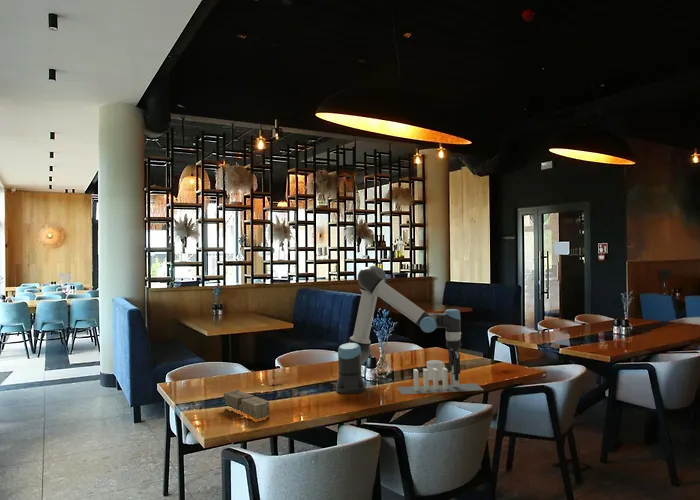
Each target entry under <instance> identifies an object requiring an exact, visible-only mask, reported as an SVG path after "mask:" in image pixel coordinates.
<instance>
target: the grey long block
mask: <svg viewBox="0 0 700 500" xmlns="http://www.w3.org/2000/svg"><path fill="white" fill-rule="evenodd" d="M223 399H224V400H225V401H224V402H225V403H224V404H225V405H227V406H229V407H232V408H234V409H236V410H240V411H241V412H243V413H245V414H247V415H249V416H250V415H251V417H253V418H255V419H259V418H263V417H266V416H267V415H270V401H269V400H266V399H263V398H260V397H258V396H254V395H253V394H249V393H247V392H244V391H241V390H239V389H233V390H230V391H226V392H223ZM225 405H224V406H225Z"/></svg>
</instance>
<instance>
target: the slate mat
mask: <svg viewBox="0 0 700 500" xmlns="http://www.w3.org/2000/svg"><path fill="white" fill-rule="evenodd" d="M396 388H397V390H398V392H399V393H400V395H417V394H434V393H455V392H473V391H474V392H475V391H484V390H485V389H484V388H482V387H481V386H480V385H479V384H477V383H476V382H475V383H474V382H472V383H459V387H454V386H453V385H452V384H451V383H450V384H448V389H447V390H445V389H444V388H443V384H438V390H435V389H434V388H433V384H432V385H430V384H429V390H428V391H426V390H425V389H424V388H423V385H419V391H415V389H414V385H412V386H396Z"/></svg>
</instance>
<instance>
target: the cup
mask: <svg viewBox="0 0 700 500" xmlns="http://www.w3.org/2000/svg"><path fill="white" fill-rule="evenodd" d="M432 368H436V369H437V370H438V382H440V381H442V368H446V365H445V363H444V362H443V361H442V360H437V359H430V360H428V361H427V360H426V369H427V370H428V381H429V382H430V381H431V382H433V369H432Z"/></svg>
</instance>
